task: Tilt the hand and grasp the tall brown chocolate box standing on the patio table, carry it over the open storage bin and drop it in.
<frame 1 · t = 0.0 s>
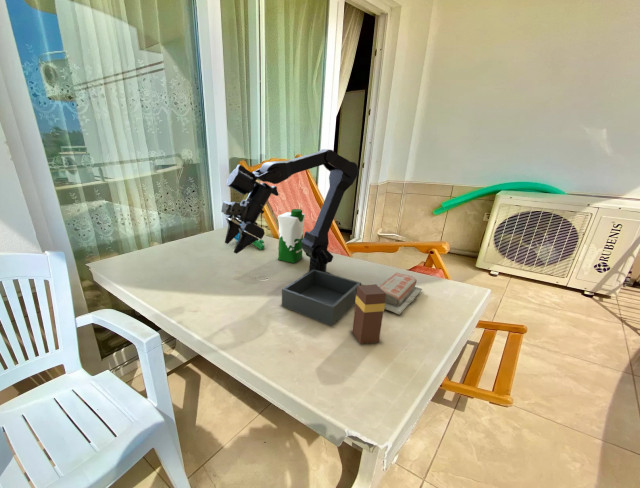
hand: (230, 247, 92), 15 cm above the table, tool tilted 35°, fingers open, 9 cm apart
packaged product: (393, 298, 90), on the table
chocolate box: (365, 337, 73), on the table
toy flower: (249, 245, 139), on the table
open storage bin: (321, 302, 89), on the table
milk carton: (290, 259, 121), on the table
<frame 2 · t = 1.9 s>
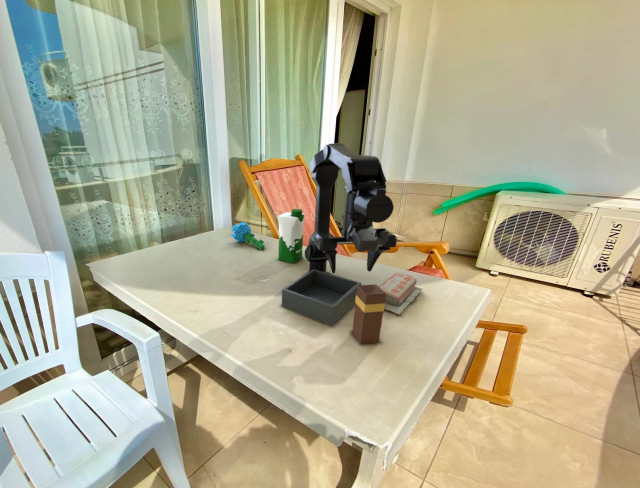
hand: (351, 272, 77), 13 cm above the table, tool pointing down, fingers open, 9 cm apart
nothing on the table moved.
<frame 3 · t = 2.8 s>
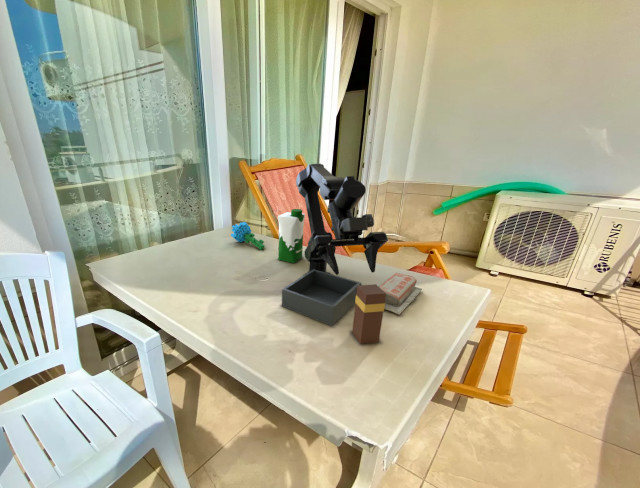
hand: (355, 273, 76), 13 cm above the table, tool tilted 45°, fingers open, 9 cm apart
nothing on the table moved.
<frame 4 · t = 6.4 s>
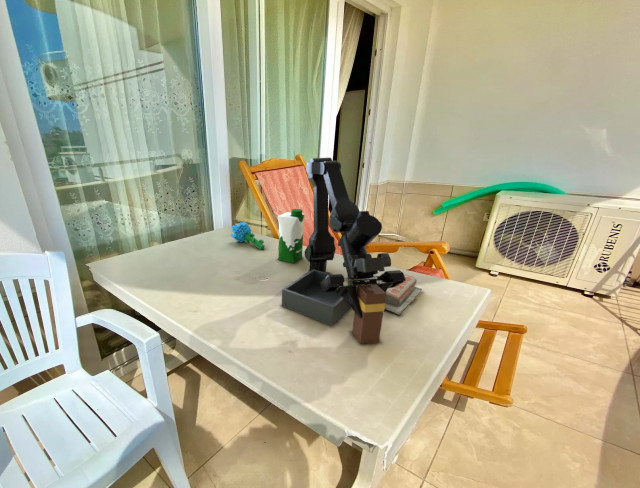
hand: (371, 317, 69), 7 cm above the table, tool tilted 45°, fingers closed on chocolate box, 4 cm apart
chocolate box: (365, 337, 73), on the table, touching gripper
everything else where it was.
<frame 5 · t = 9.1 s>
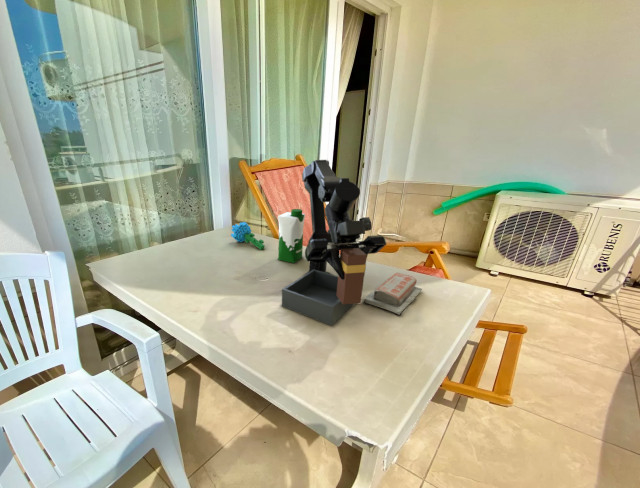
hand: (353, 278, 73), 13 cm above the table, tool tilted 45°, fingers closed on chocolate box, 4 cm apart
chocolate box: (348, 299, 77), point 7 cm above the table, touching gripper
everything else where it was.
when the fingers open (9 cm above the table, at t = 12.3 s): chocolate box drops 2 cm, resting on open storage bin.
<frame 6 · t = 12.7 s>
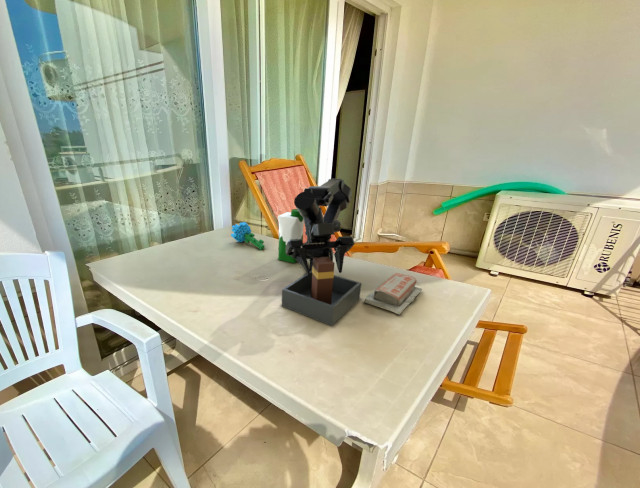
hand: (324, 273, 84), 10 cm above the table, tool tilted 45°, fingers open, 9 cm apart
chocolate box: (320, 301, 88), point 1 cm above the table, touching open storage bin
everything else where it was.
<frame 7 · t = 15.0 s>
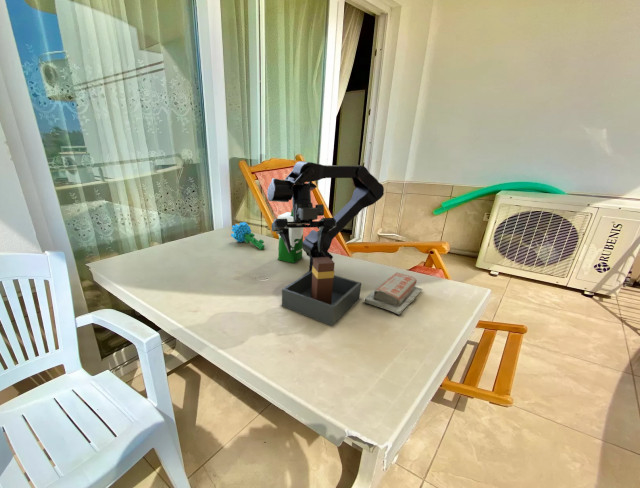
hand: (305, 252, 91), 13 cm above the table, tool tilted 30°, fingers open, 9 cm apart
nothing on the table moved.
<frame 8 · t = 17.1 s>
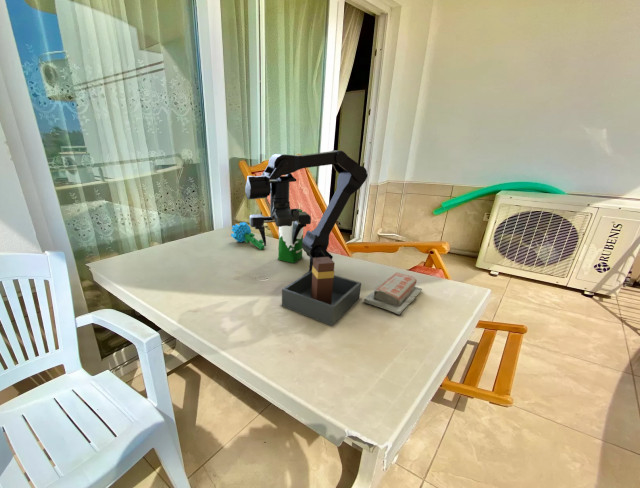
hand: (279, 244, 98), 13 cm above the table, tool pointing down, fingers open, 9 cm apart
nothing on the table moved.
at the end: chocolate box inside the target area in the open storage bin (0.2 cm from its centre), point 0.5 cm above the open storage bin's base; the gripper is holding nothing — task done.
